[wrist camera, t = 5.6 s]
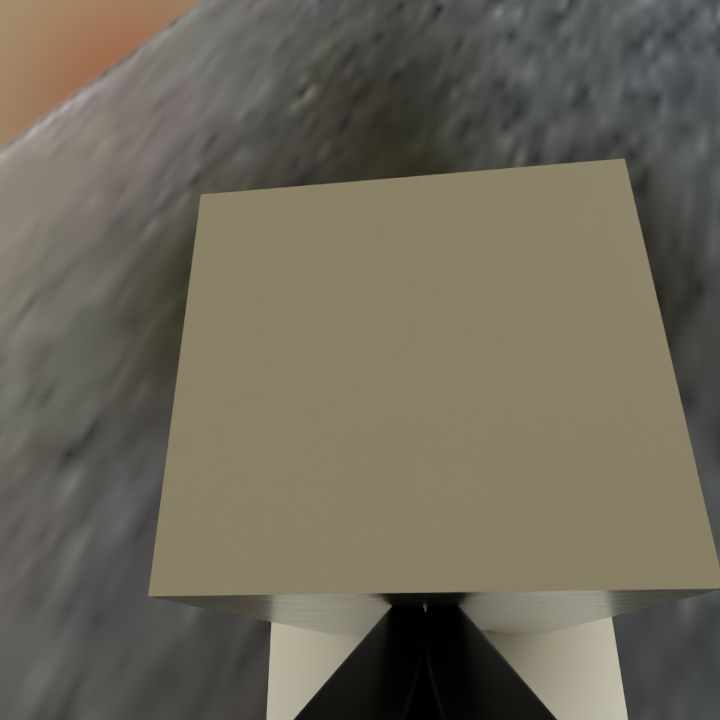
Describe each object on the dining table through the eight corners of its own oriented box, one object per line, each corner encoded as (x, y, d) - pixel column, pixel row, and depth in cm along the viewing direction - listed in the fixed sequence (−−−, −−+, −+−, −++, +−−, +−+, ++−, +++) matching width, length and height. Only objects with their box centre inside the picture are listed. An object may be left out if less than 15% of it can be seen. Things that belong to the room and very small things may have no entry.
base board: (736, 1457, 11) (845, 1759, 8) (239, 1394, 12) (169, 1641, 9) (547, 238, 22) (563, 171, 19) (295, 257, 23) (272, 196, 20)
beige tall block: (544, 633, 16) (724, 588, 6) (333, 635, 17) (147, 595, 6) (522, 443, 18) (623, 158, 8) (336, 451, 19) (200, 194, 8)
